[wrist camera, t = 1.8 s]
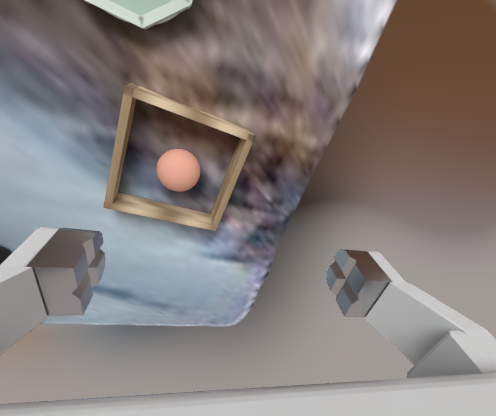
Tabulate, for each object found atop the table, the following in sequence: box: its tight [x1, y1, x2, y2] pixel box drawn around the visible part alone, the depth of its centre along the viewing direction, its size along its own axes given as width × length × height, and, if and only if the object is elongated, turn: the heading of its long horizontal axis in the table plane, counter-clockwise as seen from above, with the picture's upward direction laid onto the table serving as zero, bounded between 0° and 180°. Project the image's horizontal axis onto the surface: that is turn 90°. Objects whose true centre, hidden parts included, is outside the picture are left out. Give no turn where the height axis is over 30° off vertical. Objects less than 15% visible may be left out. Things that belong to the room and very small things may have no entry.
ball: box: [157, 149, 200, 191], centre depth 29 cm, size 5×5×5 cm
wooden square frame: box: [104, 83, 255, 231], centre depth 30 cm, size 14×14×3 cm
